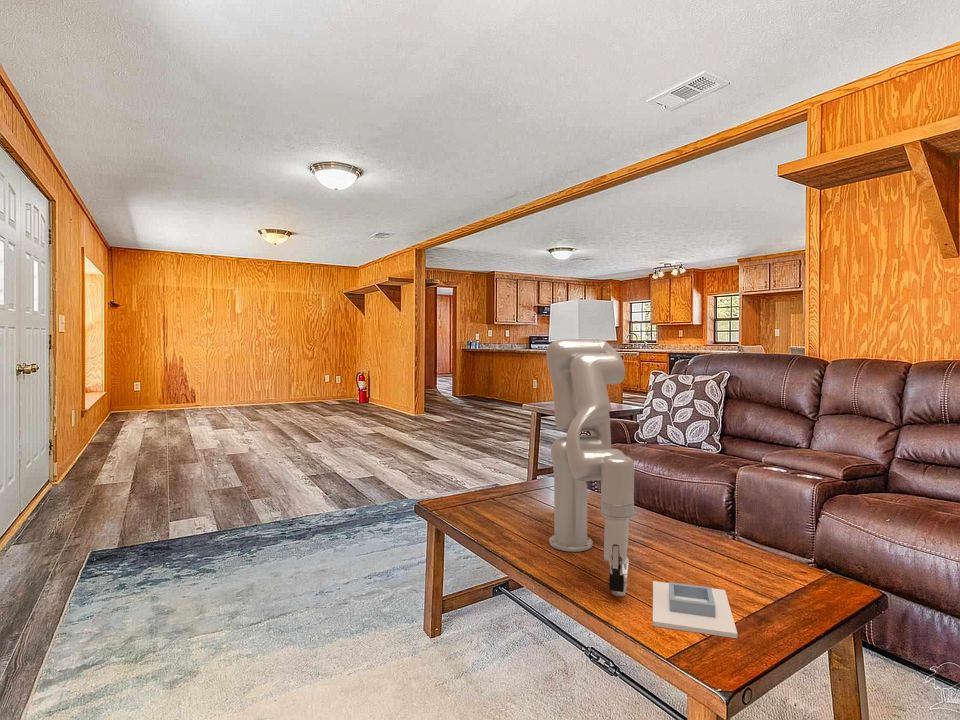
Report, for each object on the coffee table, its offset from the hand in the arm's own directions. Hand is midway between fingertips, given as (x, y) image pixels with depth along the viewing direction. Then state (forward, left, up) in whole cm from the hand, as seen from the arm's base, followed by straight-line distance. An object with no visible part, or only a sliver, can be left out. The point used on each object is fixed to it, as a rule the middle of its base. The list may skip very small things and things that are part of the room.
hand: (617, 585), depth 126 cm
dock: (+3, +16, -2) cm, 16 cm away
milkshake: (0, 0, -2) cm, 2 cm away
